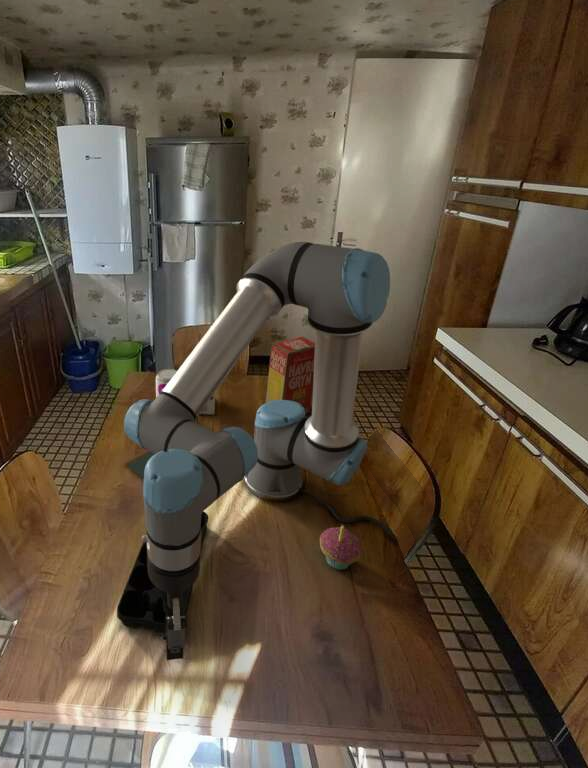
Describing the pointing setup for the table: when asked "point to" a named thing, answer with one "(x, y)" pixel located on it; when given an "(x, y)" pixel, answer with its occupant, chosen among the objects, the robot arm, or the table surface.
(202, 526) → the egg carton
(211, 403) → the light bulb box
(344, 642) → the table surface
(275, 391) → the food packaging
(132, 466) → the mat
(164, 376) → the supplement can
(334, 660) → the table surface
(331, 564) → the cupcake
